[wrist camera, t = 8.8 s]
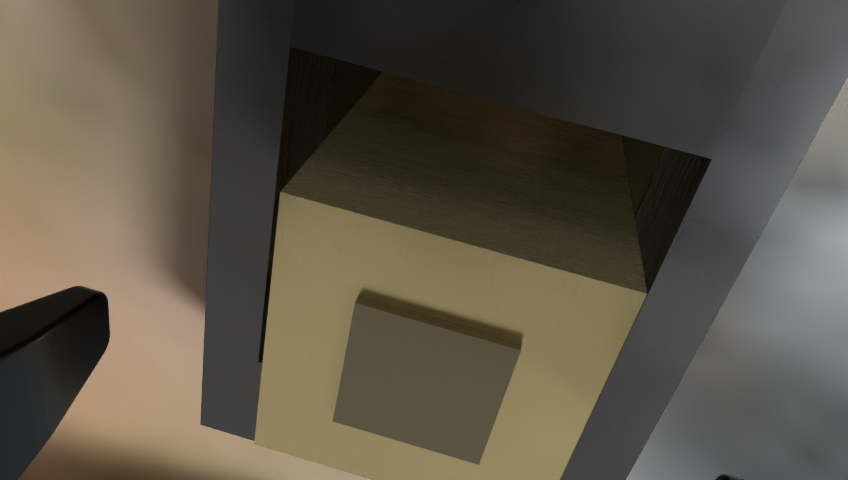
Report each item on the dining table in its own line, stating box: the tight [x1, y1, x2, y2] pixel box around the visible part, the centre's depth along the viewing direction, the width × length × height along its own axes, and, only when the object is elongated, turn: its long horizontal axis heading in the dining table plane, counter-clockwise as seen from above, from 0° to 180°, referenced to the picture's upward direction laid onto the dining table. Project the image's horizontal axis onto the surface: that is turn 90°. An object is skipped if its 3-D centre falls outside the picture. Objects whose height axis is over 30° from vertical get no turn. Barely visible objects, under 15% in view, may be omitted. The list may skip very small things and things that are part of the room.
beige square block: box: [254, 72, 647, 480], centre depth 13 cm, size 5×5×6 cm
